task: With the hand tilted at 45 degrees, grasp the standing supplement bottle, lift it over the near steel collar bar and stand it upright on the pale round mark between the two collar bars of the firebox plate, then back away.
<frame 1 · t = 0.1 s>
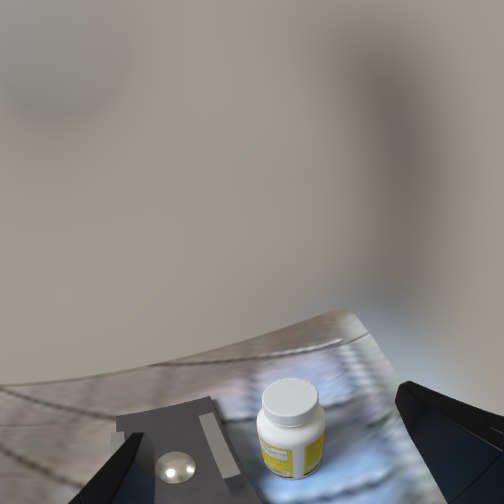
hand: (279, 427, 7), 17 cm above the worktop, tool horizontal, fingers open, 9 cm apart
supplement bottle: (292, 459, 19), on the worktop
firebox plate: (177, 470, 18), on the worktop
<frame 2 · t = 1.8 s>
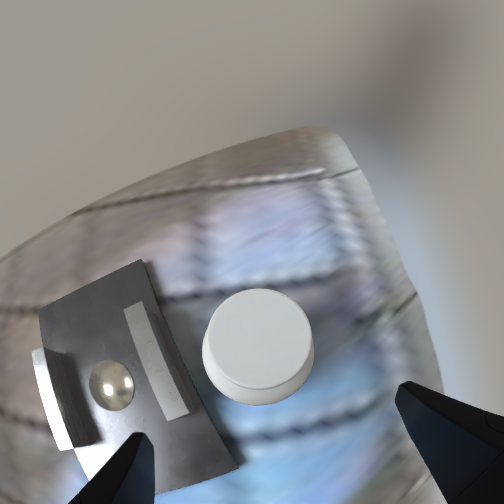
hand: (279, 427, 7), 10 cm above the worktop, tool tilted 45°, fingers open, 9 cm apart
supplement bottle: (256, 367, 18), on the worktop
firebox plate: (115, 386, 17), on the worktop
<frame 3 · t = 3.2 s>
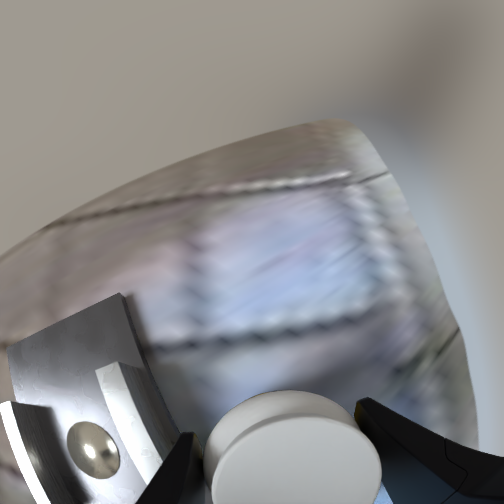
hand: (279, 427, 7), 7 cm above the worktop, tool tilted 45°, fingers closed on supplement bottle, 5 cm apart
supplement bottle: (271, 435, 13), on the worktop, touching gripper
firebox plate: (98, 449, 11), on the worktop
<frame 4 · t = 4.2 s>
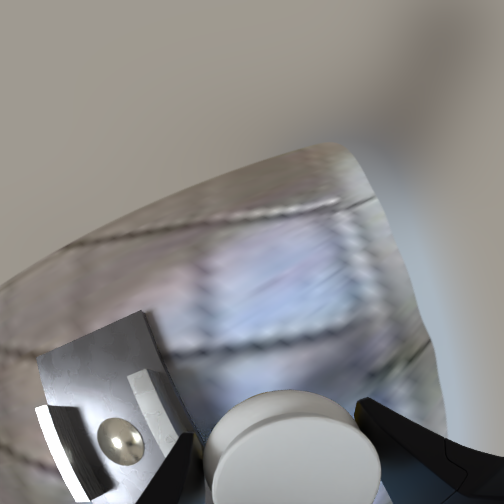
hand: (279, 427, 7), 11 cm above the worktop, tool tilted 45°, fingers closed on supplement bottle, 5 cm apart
supplement bottle: (271, 434, 13), point 4 cm above the worktop, touching gripper
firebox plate: (124, 440, 15), on the worktop
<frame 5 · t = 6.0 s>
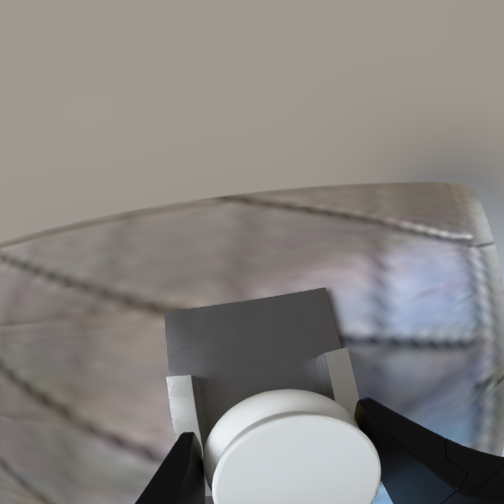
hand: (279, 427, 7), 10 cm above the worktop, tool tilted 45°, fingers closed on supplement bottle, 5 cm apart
supplement bottle: (271, 434, 13), point 3 cm above the worktop, touching gripper
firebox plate: (267, 424, 16), on the worktop
when the fingers open (8 cm above the worktop, at t = 6.7 s): supplement bottle stays where it is, resting on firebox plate.
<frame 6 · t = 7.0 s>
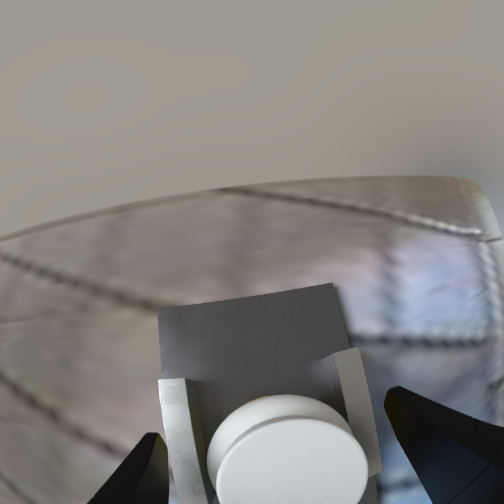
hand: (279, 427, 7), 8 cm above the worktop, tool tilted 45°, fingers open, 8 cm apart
supplement bottle: (271, 436, 13), point 1 cm above the worktop, touching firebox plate
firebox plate: (269, 431, 14), on the worktop
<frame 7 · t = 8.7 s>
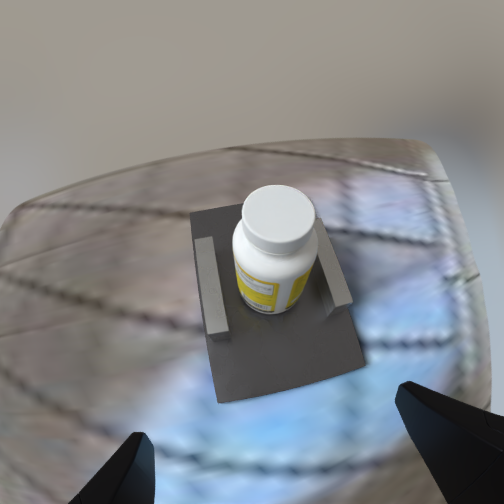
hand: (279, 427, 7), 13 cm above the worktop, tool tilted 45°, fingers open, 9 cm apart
supplement bottle: (269, 285, 23), point 1 cm above the worktop, touching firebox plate
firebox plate: (268, 286, 24), on the worktop
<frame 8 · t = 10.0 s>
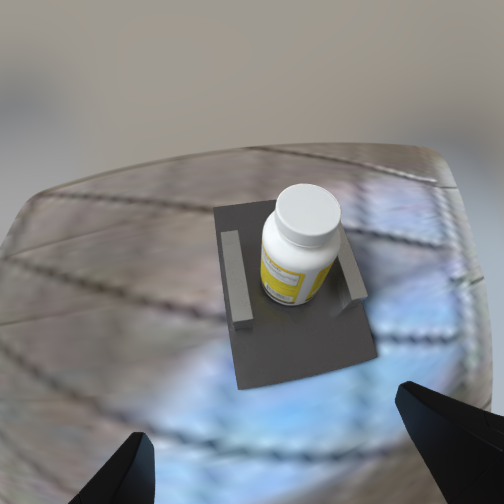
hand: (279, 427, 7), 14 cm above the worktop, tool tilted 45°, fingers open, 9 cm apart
supplement bottle: (289, 279, 24), point 1 cm above the worktop, touching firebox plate
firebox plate: (288, 280, 25), on the worktop
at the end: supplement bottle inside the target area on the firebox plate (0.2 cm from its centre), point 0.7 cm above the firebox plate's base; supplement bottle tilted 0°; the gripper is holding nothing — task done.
